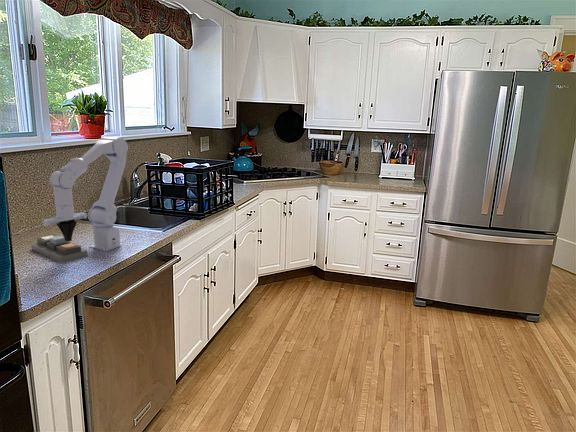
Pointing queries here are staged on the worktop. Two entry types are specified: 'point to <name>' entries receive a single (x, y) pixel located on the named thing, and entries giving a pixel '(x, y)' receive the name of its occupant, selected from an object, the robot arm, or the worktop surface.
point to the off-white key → (46, 238)
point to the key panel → (58, 250)
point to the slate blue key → (57, 240)
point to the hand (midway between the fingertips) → (68, 240)
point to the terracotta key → (68, 246)
